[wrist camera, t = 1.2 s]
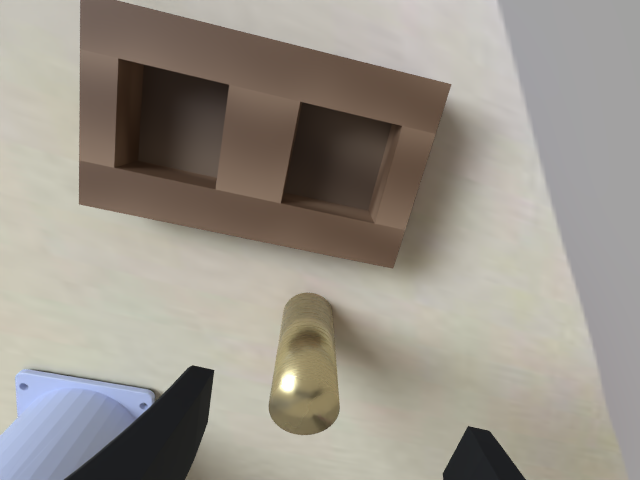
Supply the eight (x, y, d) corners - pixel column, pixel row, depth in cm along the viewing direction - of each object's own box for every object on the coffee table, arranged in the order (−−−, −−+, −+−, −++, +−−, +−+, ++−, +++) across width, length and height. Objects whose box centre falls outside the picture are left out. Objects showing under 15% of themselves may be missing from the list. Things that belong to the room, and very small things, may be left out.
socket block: (382, 245, 20) (393, 268, 17) (115, 189, 19) (78, 204, 16) (429, 88, 17) (451, 84, 14) (121, 11, 16) (80, -9, 13)
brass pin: (326, 339, 22) (330, 439, 15) (279, 330, 22) (263, 428, 15) (337, 298, 21) (347, 385, 14) (288, 288, 21) (275, 373, 14)
